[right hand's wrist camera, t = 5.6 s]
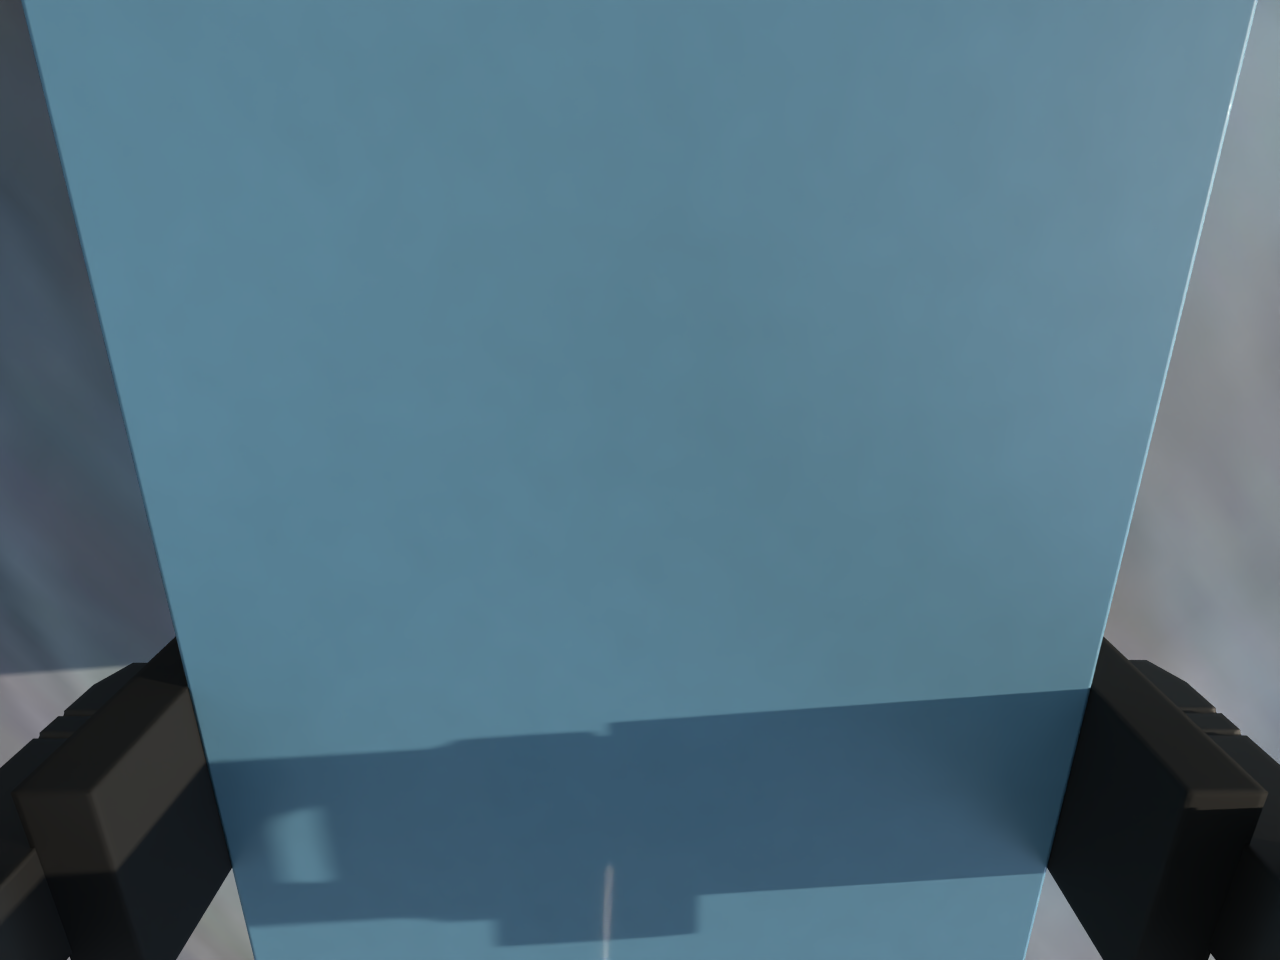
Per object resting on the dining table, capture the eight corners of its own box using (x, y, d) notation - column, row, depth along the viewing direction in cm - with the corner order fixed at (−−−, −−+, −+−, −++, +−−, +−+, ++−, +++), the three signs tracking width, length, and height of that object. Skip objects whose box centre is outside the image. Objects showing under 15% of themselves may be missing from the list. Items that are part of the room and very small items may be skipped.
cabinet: (324, -495, 12) (-608, -2546, 3) (955, -495, 12) (1888, -2558, 3) (439, 615, 20) (259, 988, 10) (839, 615, 20) (1019, 989, 10)
